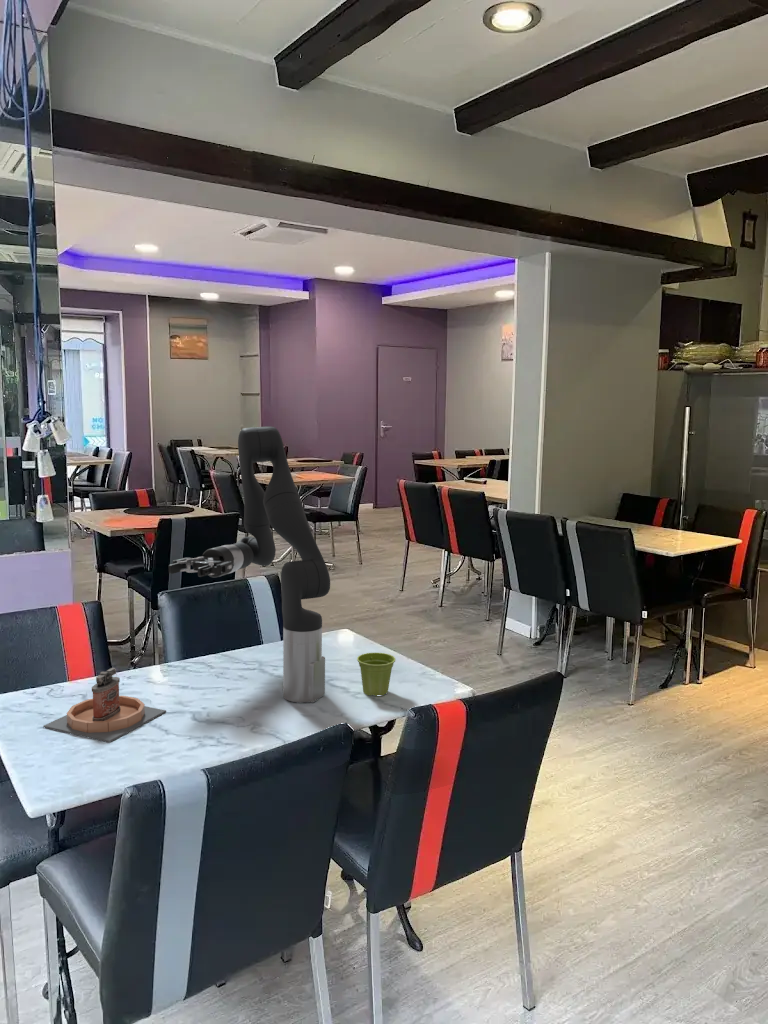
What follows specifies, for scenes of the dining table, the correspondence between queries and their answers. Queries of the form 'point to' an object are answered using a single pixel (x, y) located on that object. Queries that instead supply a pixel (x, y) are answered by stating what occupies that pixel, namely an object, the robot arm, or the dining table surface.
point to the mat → (105, 736)
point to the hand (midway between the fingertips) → (184, 571)
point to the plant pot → (375, 672)
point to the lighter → (106, 696)
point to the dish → (128, 716)
